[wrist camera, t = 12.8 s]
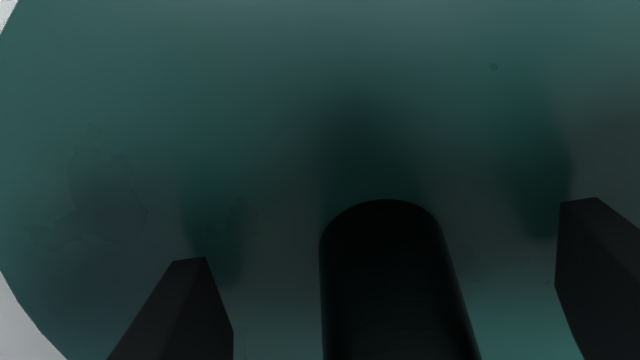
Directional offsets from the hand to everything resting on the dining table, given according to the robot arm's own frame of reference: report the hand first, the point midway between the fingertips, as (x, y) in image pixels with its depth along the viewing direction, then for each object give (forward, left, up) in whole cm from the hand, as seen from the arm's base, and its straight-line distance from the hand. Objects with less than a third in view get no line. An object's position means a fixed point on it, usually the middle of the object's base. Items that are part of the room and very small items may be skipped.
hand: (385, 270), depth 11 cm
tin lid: (0, 0, -1) cm, 1 cm away
